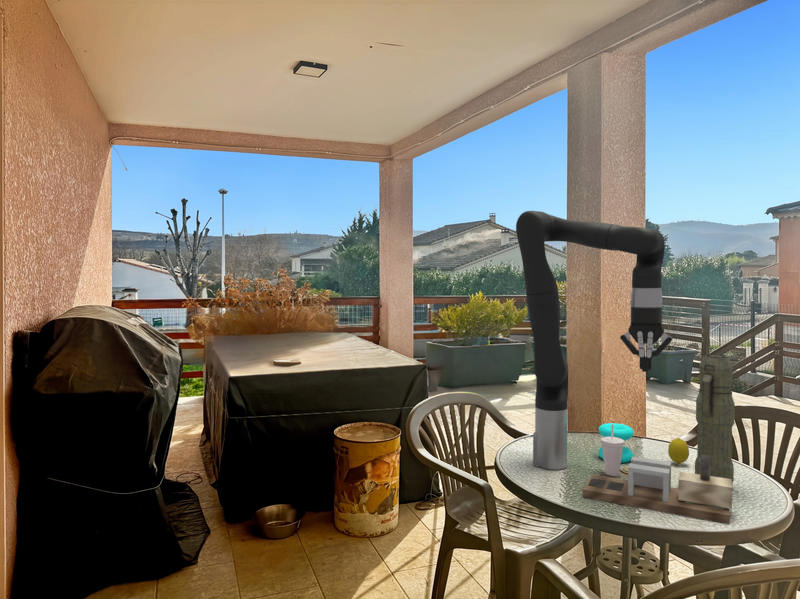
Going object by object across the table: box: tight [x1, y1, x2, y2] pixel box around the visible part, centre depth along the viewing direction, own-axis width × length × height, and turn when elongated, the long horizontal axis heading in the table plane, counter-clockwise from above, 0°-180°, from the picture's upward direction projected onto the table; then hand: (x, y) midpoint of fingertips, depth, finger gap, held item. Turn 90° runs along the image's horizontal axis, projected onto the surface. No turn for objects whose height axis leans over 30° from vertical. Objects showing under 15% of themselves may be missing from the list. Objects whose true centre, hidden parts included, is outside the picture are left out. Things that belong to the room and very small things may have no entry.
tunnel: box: [627, 456, 672, 502], centre depth 137 cm, size 9×9×7 cm
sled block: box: [677, 455, 733, 510], centre depth 131 cm, size 11×6×11 cm, turn 61°
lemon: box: [667, 437, 690, 465], centre depth 163 cm, size 6×6×8 cm
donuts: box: [598, 422, 635, 464], centre depth 168 cm, size 10×10×10 cm
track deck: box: [582, 473, 731, 525], centre depth 137 cm, size 32×12×2 cm, turn 61°
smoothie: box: [600, 424, 625, 477], centre depth 156 cm, size 6×6×14 cm
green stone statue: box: [694, 353, 736, 492], centre depth 145 cm, size 9×12×35 cm
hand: (645, 371), depth 144 cm, fingers closed
